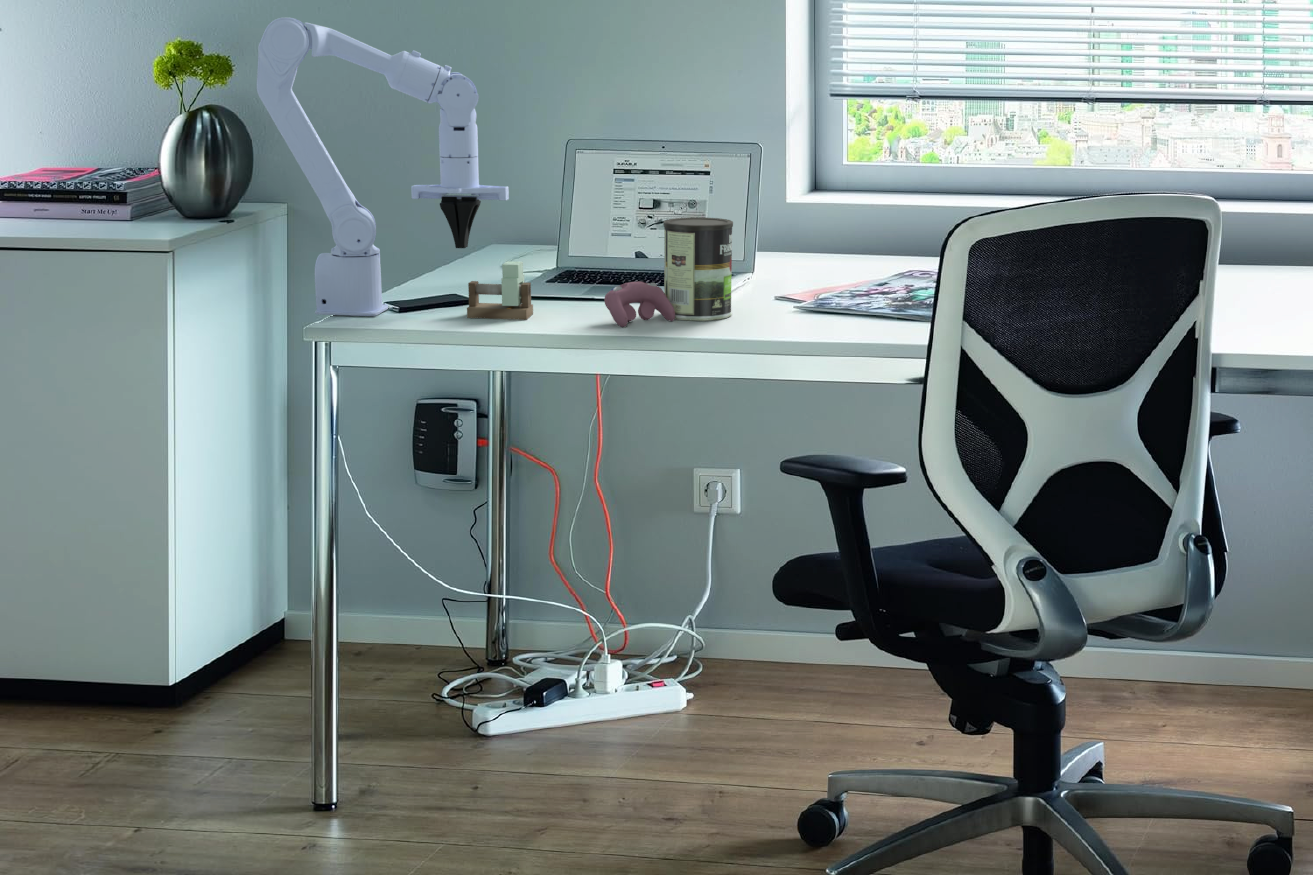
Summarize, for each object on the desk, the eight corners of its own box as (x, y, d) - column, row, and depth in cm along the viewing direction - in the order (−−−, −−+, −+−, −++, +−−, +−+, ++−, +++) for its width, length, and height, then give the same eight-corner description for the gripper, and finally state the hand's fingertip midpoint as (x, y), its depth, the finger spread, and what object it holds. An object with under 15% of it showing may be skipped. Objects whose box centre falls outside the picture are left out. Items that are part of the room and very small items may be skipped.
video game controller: (664, 328, 231) (652, 283, 232) (679, 318, 228) (668, 273, 229) (608, 335, 226) (596, 289, 227) (623, 325, 222) (611, 279, 223)
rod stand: (467, 317, 230) (466, 284, 229) (474, 312, 234) (473, 279, 233) (526, 319, 229) (525, 286, 228) (533, 314, 233) (532, 281, 232)
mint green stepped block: (502, 305, 229) (501, 265, 227) (509, 300, 233) (508, 260, 232) (518, 306, 229) (517, 265, 227) (524, 300, 233) (523, 261, 231)
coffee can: (736, 310, 237) (737, 217, 233) (725, 322, 227) (727, 226, 223) (670, 307, 239) (670, 216, 235) (656, 320, 229) (657, 224, 225)
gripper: (403, 158, 229) (407, 250, 232) (499, 159, 227) (502, 252, 230) (417, 154, 235) (421, 243, 239) (511, 155, 233) (513, 245, 237)
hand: (461, 247), depth 235 cm, fingers closed
